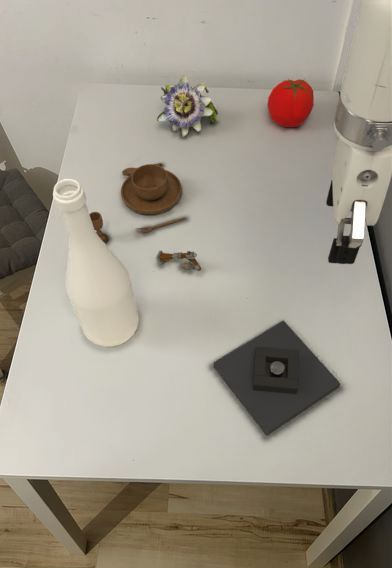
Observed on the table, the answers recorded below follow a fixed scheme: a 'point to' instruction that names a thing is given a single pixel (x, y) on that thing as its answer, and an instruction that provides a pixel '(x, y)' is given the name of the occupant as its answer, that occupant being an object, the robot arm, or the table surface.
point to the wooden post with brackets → (180, 258)
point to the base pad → (275, 401)
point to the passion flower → (186, 106)
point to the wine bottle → (94, 274)
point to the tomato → (290, 102)
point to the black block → (276, 383)
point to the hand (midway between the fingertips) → (339, 232)
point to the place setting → (145, 194)
